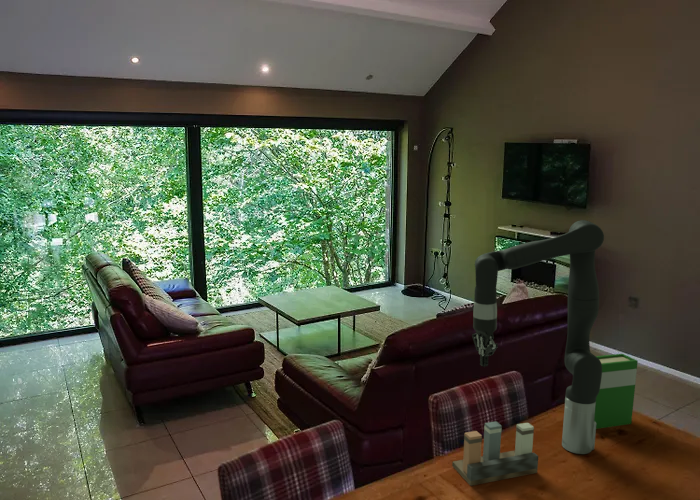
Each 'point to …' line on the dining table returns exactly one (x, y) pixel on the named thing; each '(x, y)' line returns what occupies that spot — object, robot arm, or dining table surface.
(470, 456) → the tan tall block
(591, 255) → the robot arm
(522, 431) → the white tall block
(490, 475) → the dark grey block stand
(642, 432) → the dining table surface
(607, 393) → the hardback book
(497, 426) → the slate key
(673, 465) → the dining table surface
